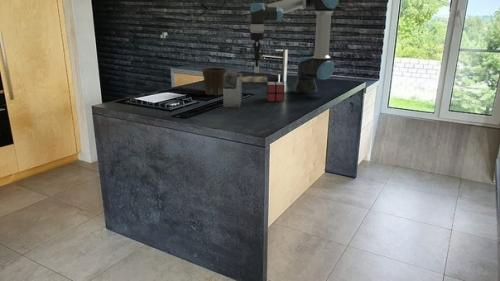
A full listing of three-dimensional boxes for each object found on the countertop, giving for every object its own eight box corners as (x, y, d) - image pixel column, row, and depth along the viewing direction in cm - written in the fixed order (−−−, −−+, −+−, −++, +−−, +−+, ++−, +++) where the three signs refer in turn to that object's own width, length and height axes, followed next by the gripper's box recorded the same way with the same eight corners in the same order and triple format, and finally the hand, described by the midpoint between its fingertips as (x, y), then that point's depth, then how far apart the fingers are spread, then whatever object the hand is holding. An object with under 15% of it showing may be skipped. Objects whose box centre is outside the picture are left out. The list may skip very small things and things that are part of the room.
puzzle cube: (283, 101, 235) (284, 84, 232) (267, 101, 235) (267, 84, 232) (282, 98, 245) (283, 82, 242) (266, 98, 245) (266, 82, 242)
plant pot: (216, 90, 267) (216, 66, 262) (232, 94, 256) (232, 69, 251) (197, 93, 256) (196, 68, 251) (213, 97, 245) (212, 71, 240)
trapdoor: (266, 81, 234) (266, 72, 232) (267, 86, 219) (267, 76, 217) (225, 81, 234) (225, 72, 232) (223, 86, 219) (223, 76, 217)
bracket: (241, 99, 239) (241, 73, 234) (240, 106, 221) (240, 78, 216) (226, 99, 239) (225, 73, 234) (223, 106, 221) (222, 78, 216)
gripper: (250, 31, 229) (250, 68, 236) (249, 33, 206) (249, 73, 212) (263, 31, 229) (262, 68, 236) (264, 33, 206) (263, 74, 212)
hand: (256, 71), depth 224 cm, fingers open, 13 cm apart
